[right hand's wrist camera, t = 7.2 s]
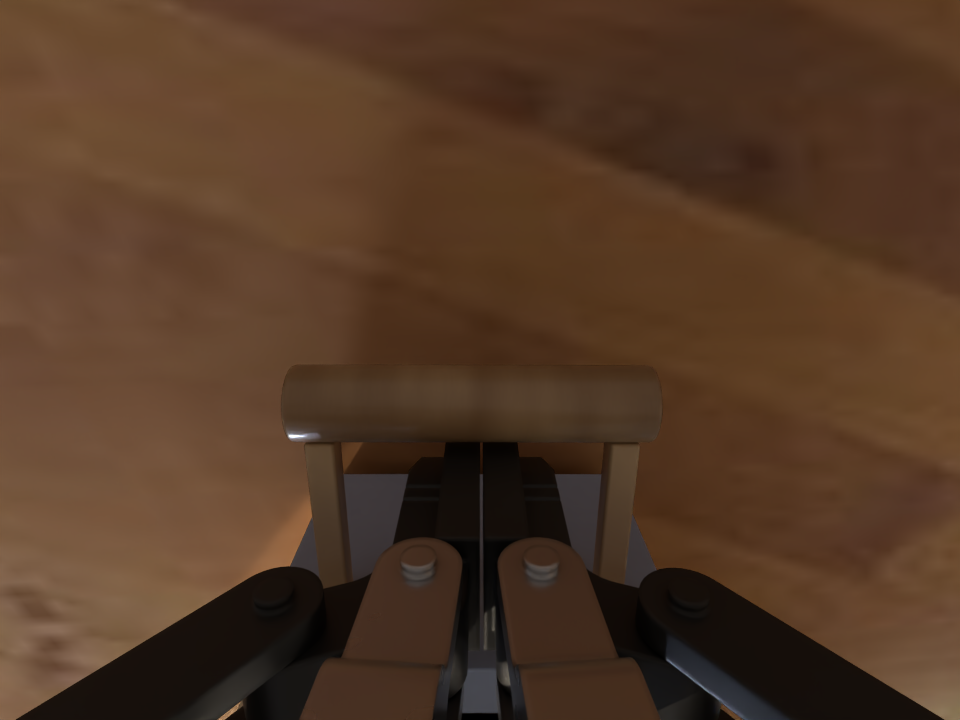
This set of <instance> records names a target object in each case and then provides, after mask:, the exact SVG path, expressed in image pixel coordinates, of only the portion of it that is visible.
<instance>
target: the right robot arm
mask: <svg viewBox="0 0 960 720" xmlns="http://www.w3.org/2000/svg"><path fill="white" fill-rule="evenodd" d="M483 614H484V650H496V700H497V709H498V718H499V720H735V719H733V718H732V717H731V716H730V715H728V714H727V713H726V712H724V711H723V710H722V709H721V704H724V705H725V706H726V707H727V708H729V709H730V710H731V711H733V712H734V713H735V714H736V715H738V716H739V717H740V718H742V719H743V720H944V719H942V718H941V717H939V716H937V715H936V714H934V713H932V712H931V711H929V710H927V709H926V708H924V707H923V706H921V705H919V704H918V703H916V702H914V701H913V700H911V699H909V698H908V697H906V696H904V695H903V694H901V693H899V692H898V691H896V690H895V689H893V688H891V687H890V686H888V685H886V684H885V683H883V682H881V681H880V680H878V679H876V678H875V677H873V676H871V675H870V674H868V673H866V672H865V671H863V670H862V669H860V668H858V667H857V666H855V665H853V664H852V663H850V662H848V661H847V660H845V659H843V658H842V657H840V656H838V655H837V654H835V653H834V652H832V651H830V650H829V649H827V648H825V647H824V646H822V645H820V644H819V643H817V642H815V641H814V640H812V639H810V638H809V637H807V636H806V635H804V634H802V633H801V632H799V631H797V630H796V629H794V628H792V627H791V626H789V625H787V624H786V623H784V622H782V621H781V620H779V619H778V618H776V617H774V616H773V615H771V614H769V613H768V612H766V611H764V610H763V609H761V608H759V607H758V606H756V605H754V604H753V603H751V602H749V601H748V600H746V599H745V598H743V597H741V596H740V595H738V594H736V593H735V592H733V591H731V590H730V589H728V588H726V587H725V586H723V585H721V584H720V583H718V582H717V581H715V580H713V579H711V578H709V577H708V576H706V575H703V574H701V573H698V572H695V571H692V570H688V569H682V568H664V569H659V570H656V571H653V572H651V573H650V574H648V575H647V576H646V577H644V579H643V580H642V581H641V583H640V586H639V588H637V587H633V586H629V585H625V584H620V583H616V582H613V581H609V580H607V579H604V578H602V577H599V576H598V575H596V574H594V573H592V572H591V571H589V570H588V569H586V567H585V564H584V562H583V560H582V558H581V556H580V555H579V554H578V553H577V552H576V551H575V550H574V549H573V548H572V546H571V542H570V538H569V533H568V529H567V525H566V520H565V516H564V512H563V507H562V503H561V501H560V494H559V490H558V488H557V482H556V477H555V473H554V470H553V469H552V468H551V467H550V466H549V465H548V464H547V463H546V462H545V461H544V460H543V459H542V458H541V457H519V452H518V444H517V442H483ZM468 651H480V442H446V445H445V453H444V457H422V458H421V459H420V460H419V461H418V462H417V463H416V464H415V465H414V466H413V467H412V468H411V469H410V470H409V473H408V478H407V482H406V488H405V491H404V496H403V501H402V505H401V509H400V514H399V518H398V523H397V527H396V532H395V536H394V541H393V545H392V546H390V547H389V548H387V549H386V550H385V551H384V552H383V553H382V554H381V555H380V556H379V558H378V560H377V562H376V564H375V567H374V570H373V572H372V573H371V574H369V575H367V576H365V577H363V578H360V579H358V580H355V581H352V582H349V583H345V584H340V585H336V586H332V587H328V588H324V589H323V585H322V582H321V580H320V578H319V577H318V576H317V575H316V574H315V573H313V572H311V571H310V570H307V569H304V568H300V567H289V566H288V567H278V568H273V569H269V570H266V571H263V572H261V573H258V574H256V575H254V576H252V577H250V578H248V579H247V580H245V581H243V582H242V583H240V584H239V585H237V586H235V587H234V588H232V589H230V590H229V591H227V592H225V593H224V594H222V595H220V596H219V597H217V598H215V599H214V600H212V601H211V602H209V603H207V604H206V605H204V606H202V607H201V608H199V609H197V610H196V611H194V612H192V613H191V614H189V615H187V616H186V617H184V618H183V619H181V620H179V621H178V622H176V623H174V624H173V625H171V626H169V627H168V628H166V629H164V630H163V631H161V632H159V633H158V634H156V635H154V636H153V637H151V638H150V639H148V640H146V641H145V642H143V643H141V644H140V645H138V646H136V647H135V648H133V649H131V650H130V651H128V652H126V653H125V654H123V655H122V656H120V657H118V658H117V659H115V660H113V661H112V662H110V663H108V664H107V665H105V666H103V667H102V668H100V669H98V670H97V671H95V672H94V673H92V674H90V675H89V676H87V677H85V678H84V679H82V680H80V681H79V682H77V683H75V684H74V685H72V686H70V687H69V688H67V689H66V690H64V691H62V692H61V693H59V694H57V695H56V696H54V697H52V698H51V699H49V700H47V701H46V702H44V703H42V704H41V705H39V706H37V707H36V708H34V709H33V710H31V711H29V712H28V713H26V714H24V715H23V716H21V717H19V718H18V719H16V720H217V719H218V718H220V717H221V716H222V715H224V714H225V713H226V712H227V711H229V710H230V709H231V708H233V707H234V706H235V705H236V704H238V703H239V702H240V701H242V702H243V706H242V707H241V708H239V709H238V710H237V711H236V712H234V713H233V714H232V715H230V716H229V717H228V718H227V719H225V720H461V718H462V709H463V700H464V682H465V680H466V677H467V671H468Z"/></svg>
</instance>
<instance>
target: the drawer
mask: <svg viewBox="0 0 960 720" xmlns="http://www.w3.org/2000/svg"><path fill="white" fill-rule="evenodd" d="M662 411H663V401H662V391H661V385H660V381H659V378H658V375H657V373H656V371H655V369H654V368H653V367H651V366H648V365H295V366H292V367H291V368H290V369H289V370H288V372H287V374H286V377H285V380H284V384H283V389H282V397H281V415H282V423H283V427H284V431H285V434H286V436H287V438H288V439H289V440H291V441H293V442H306V443H305V445H304V449H305V458H306V466H307V475H308V483H309V492H310V501H311V509H312V519H311V521H310V523H309V525H308V528H307V530H306V532H305V534H304V536H303V539H302V541H301V543H300V545H299V548H298V550H297V552H296V554H295V556H294V559H293V561H292V563H291V565H290V567H300V568H304V569H307V570H310V571H311V572H313V573H315V574H316V575H317V576H318V577H319V578H320V580H321V582H322V585H323V589H324V588H328V587H332V586H336V585H340V584H345V583H349V582H352V581H355V580H358V579H360V578H363V577H365V576H367V575H369V574H371V573H372V572H373V570H374V567H375V564H376V562H377V560H378V558H379V556H380V555H381V554H382V553H383V552H384V551H385V550H386V549H387V548H389V547H390V546H392V545H393V541H394V536H395V532H396V527H397V523H398V518H399V514H400V509H401V505H402V501H403V496H404V491H405V488H406V482H407V478H408V474H343V463H342V452H341V442H604V450H603V462H602V473H601V474H555V477H556V482H557V488H558V490H559V494H560V501H561V503H562V507H563V512H564V516H565V520H566V525H567V529H568V533H569V538H570V542H571V546H572V548H573V549H574V550H575V551H576V552H577V553H578V554H579V555H580V556H581V558H582V560H583V562H584V564H585V567H586V569H588V570H589V571H591V572H592V573H594V574H596V575H598V576H599V577H602V578H604V579H607V580H609V581H613V582H616V583H620V584H625V585H629V586H633V587H637V588H639V586H640V583H641V581H642V580H643V579H644V577H646V576H647V575H648V574H650V573H651V572H653V571H656V567H655V565H654V563H653V560H652V558H651V556H650V553H649V551H648V549H647V546H646V544H645V542H644V539H643V537H642V535H641V532H640V530H639V528H638V525H637V523H636V521H635V518H634V516H633V514H632V513H633V504H634V495H635V487H636V478H637V469H638V460H639V452H640V445H639V443H638V442H652V441H654V440H655V439H656V438H657V436H658V433H659V430H660V426H661V421H662ZM461 720H499V718H498V709H497V700H496V650H484V614H483V474H480V651H468V671H467V677H466V680H465V682H464V700H463V709H462V718H461Z"/></svg>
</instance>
